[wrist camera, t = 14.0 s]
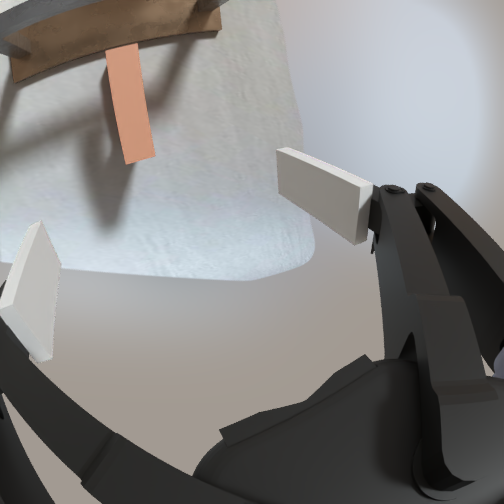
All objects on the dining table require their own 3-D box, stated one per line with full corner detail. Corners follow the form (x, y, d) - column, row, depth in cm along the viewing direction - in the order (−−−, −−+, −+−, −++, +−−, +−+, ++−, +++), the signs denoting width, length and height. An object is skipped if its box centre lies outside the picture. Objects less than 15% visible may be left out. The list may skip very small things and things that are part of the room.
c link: (121, 145, 35) (125, 164, 26) (107, 64, 28) (105, 50, 19) (142, 139, 36) (155, 156, 26) (129, 58, 29) (137, 43, 20)
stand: (16, 83, 23) (-35, 80, 11) (11, 31, 18) (-37, 4, 6) (218, 30, 32) (279, 5, 20) (213, -17, 27) (271, -59, 15)
